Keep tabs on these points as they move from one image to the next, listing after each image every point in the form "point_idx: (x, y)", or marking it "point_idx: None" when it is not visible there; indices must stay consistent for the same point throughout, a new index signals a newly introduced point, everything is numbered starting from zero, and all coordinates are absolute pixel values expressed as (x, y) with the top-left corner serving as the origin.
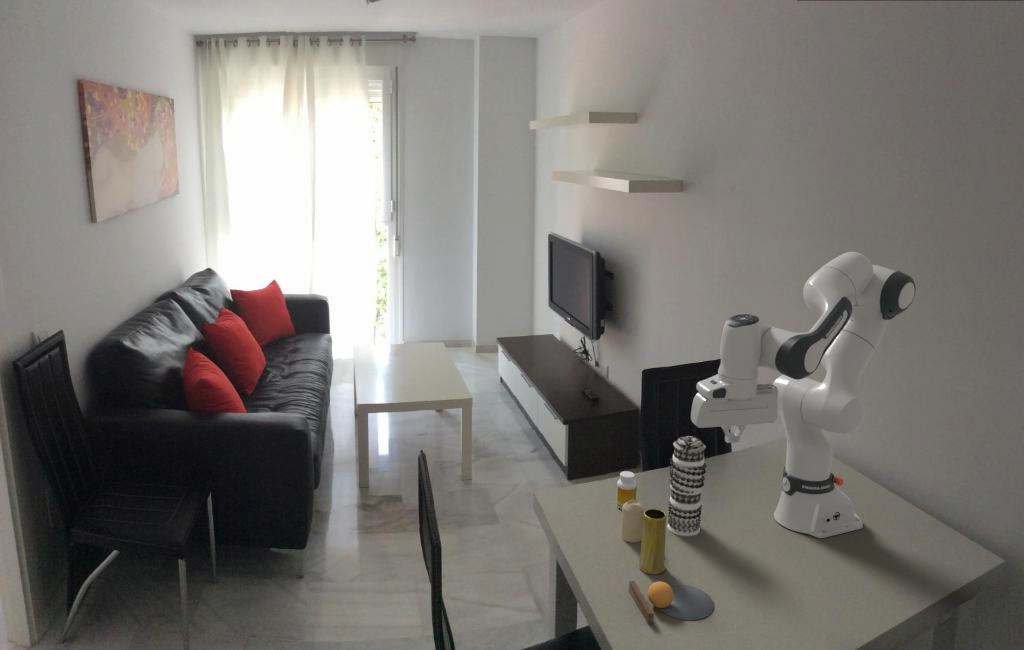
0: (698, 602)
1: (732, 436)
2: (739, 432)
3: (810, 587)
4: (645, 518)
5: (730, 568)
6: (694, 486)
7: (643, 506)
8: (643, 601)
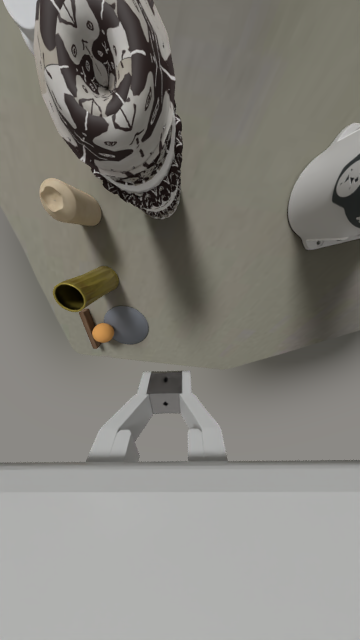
0: (137, 329)
1: (158, 412)
2: (188, 426)
3: (231, 323)
4: (58, 300)
5: (180, 289)
6: (149, 207)
7: (74, 202)
8: (90, 336)
